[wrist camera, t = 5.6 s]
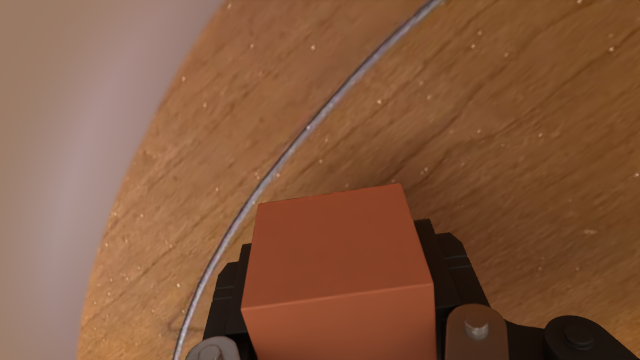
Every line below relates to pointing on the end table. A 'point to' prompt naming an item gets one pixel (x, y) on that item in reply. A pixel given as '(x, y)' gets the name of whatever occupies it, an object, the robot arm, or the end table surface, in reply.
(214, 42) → the end table surface
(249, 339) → the robot arm
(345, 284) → the block
